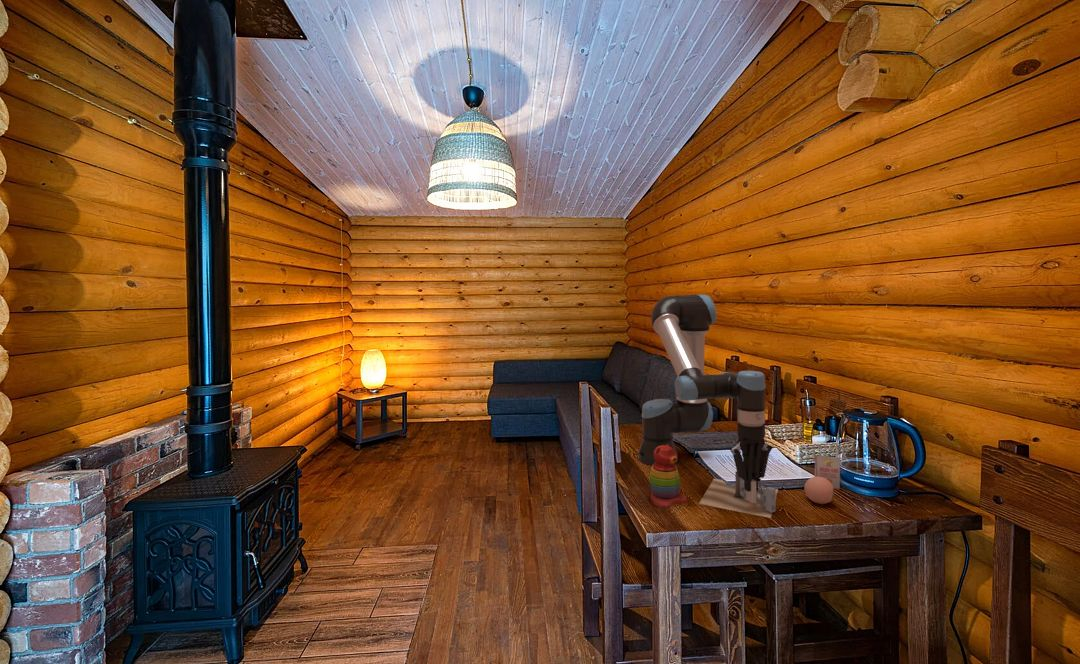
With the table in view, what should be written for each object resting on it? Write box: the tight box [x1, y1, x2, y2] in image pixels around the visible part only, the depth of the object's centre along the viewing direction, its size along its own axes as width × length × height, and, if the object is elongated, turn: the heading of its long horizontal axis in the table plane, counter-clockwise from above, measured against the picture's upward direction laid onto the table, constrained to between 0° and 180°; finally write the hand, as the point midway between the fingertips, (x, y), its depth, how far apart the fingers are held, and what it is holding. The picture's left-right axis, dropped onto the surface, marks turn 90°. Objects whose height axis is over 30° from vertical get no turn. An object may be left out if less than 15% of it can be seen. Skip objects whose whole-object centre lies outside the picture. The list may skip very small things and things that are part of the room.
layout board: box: [698, 478, 779, 519], centre depth 147 cm, size 22×20×1 cm
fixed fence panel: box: [734, 470, 744, 497], centre depth 151 cm, size 12×2×8 cm, turn 148°
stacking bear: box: [649, 444, 688, 509], centre depth 147 cm, size 11×10×18 cm
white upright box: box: [814, 455, 841, 491], centre depth 153 cm, size 4×7×10 cm, turn 63°
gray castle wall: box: [740, 481, 777, 514], centre depth 140 cm, size 12×2×7 cm, turn 24°
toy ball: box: [804, 476, 834, 505], centre depth 142 cm, size 8×8×8 cm
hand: (751, 501), depth 139 cm, fingers closed
